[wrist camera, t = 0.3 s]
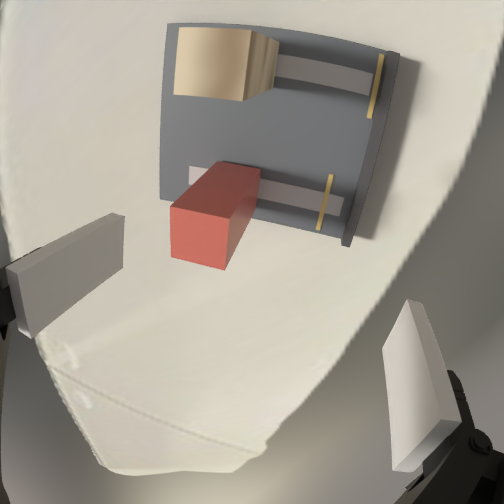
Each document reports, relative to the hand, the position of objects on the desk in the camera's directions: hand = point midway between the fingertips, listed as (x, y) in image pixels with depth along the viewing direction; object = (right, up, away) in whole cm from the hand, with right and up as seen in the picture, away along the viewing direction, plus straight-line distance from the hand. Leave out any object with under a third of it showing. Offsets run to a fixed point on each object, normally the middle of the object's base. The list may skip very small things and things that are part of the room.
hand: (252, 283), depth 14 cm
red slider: (-2, +9, +23) cm, 24 cm away
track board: (+1, +15, +20) cm, 25 cm away
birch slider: (0, +20, +15) cm, 25 cm away
